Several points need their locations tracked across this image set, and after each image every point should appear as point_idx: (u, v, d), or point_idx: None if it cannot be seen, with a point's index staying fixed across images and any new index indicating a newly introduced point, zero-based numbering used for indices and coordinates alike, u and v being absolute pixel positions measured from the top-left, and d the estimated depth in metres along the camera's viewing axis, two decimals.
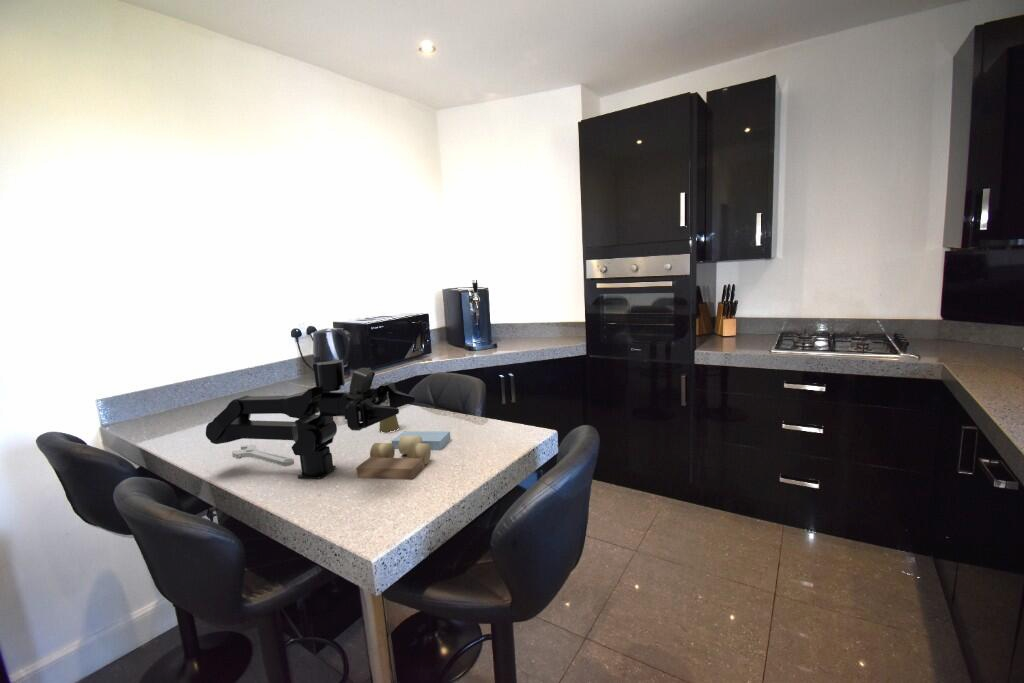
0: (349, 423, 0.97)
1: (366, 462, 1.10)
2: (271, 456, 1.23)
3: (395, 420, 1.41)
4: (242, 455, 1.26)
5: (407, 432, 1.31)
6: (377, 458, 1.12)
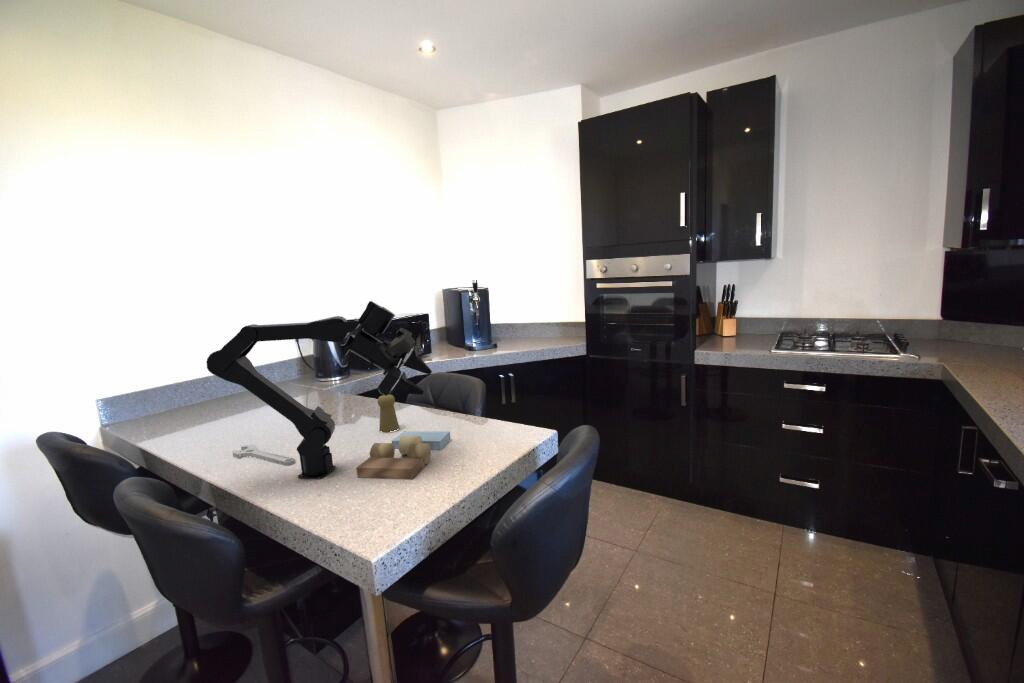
0: (381, 388, 1.05)
1: (366, 462, 1.10)
2: (272, 456, 1.23)
3: (395, 420, 1.41)
4: (243, 455, 1.26)
5: (407, 432, 1.31)
6: (377, 458, 1.12)
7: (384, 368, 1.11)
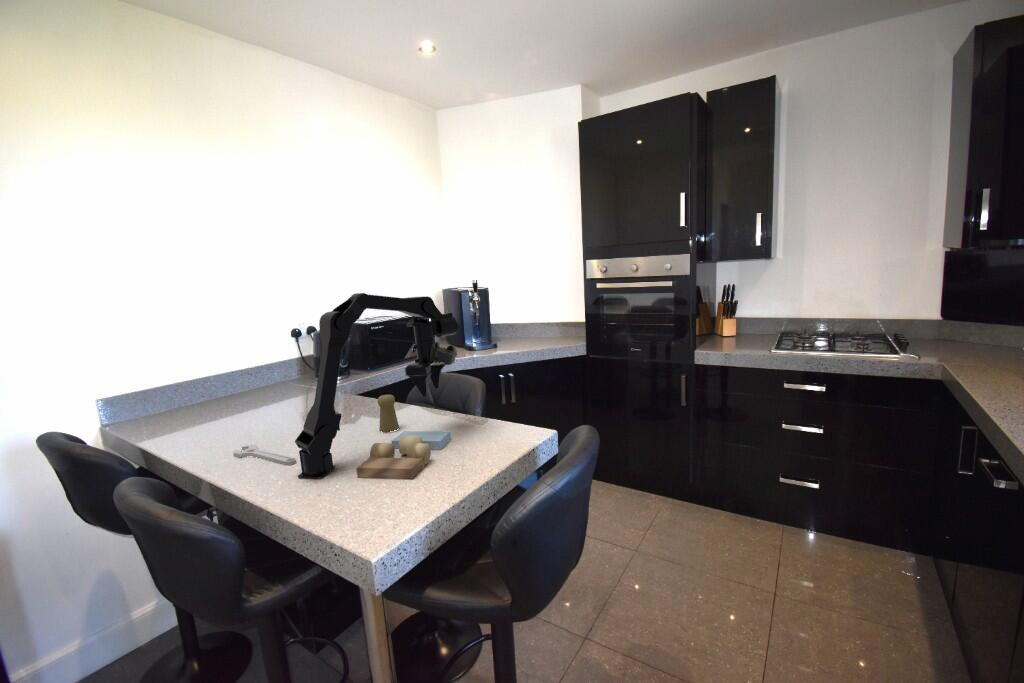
0: (409, 368, 1.24)
1: (366, 462, 1.10)
2: (273, 456, 1.23)
3: (395, 420, 1.41)
4: (244, 455, 1.26)
5: (407, 432, 1.31)
6: (377, 458, 1.12)
7: (420, 357, 1.30)
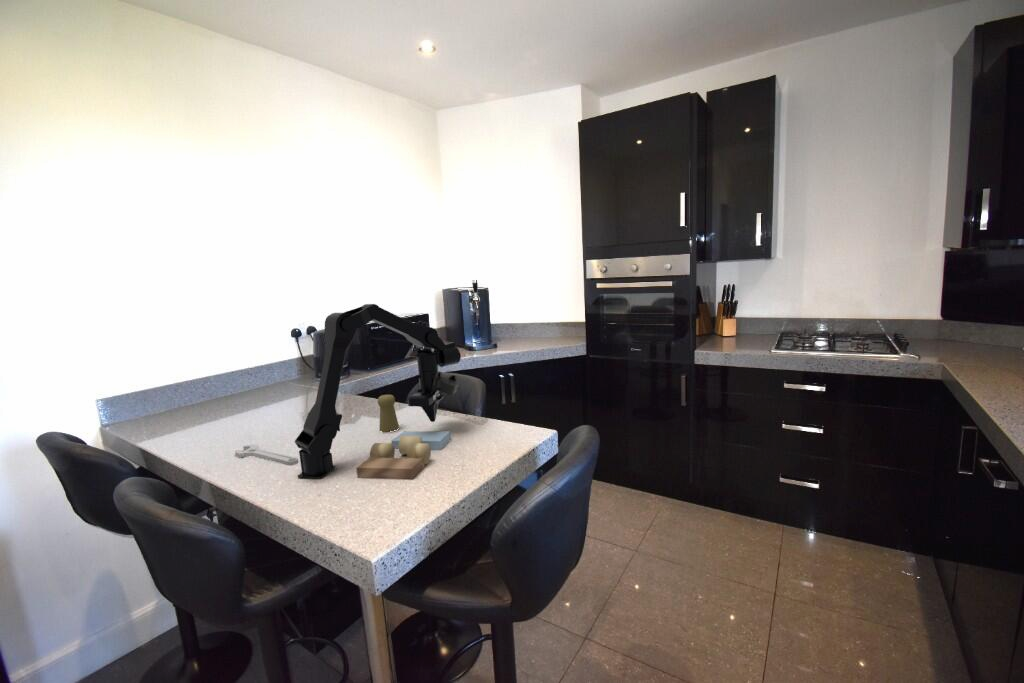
0: (412, 399, 1.25)
1: (366, 462, 1.10)
2: (275, 455, 1.23)
3: (395, 420, 1.41)
4: (245, 455, 1.27)
5: (407, 432, 1.31)
6: (377, 458, 1.12)
7: (422, 387, 1.32)
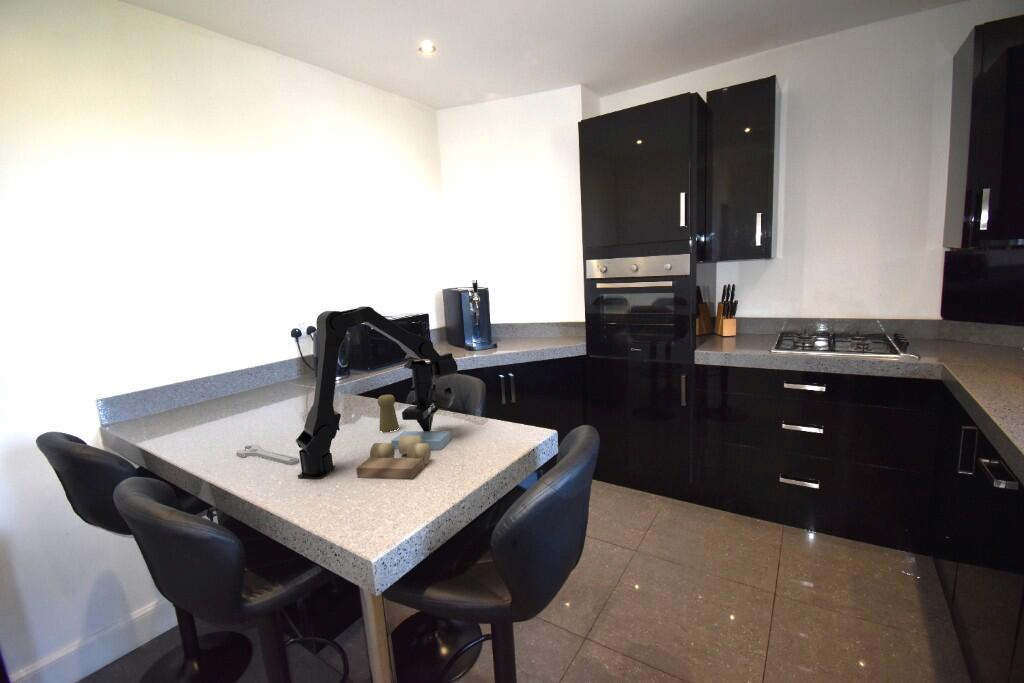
0: (406, 413, 1.22)
1: (366, 462, 1.10)
2: (276, 455, 1.23)
3: (395, 420, 1.41)
4: (247, 455, 1.27)
5: (407, 432, 1.31)
6: (377, 458, 1.12)
7: (417, 400, 1.28)
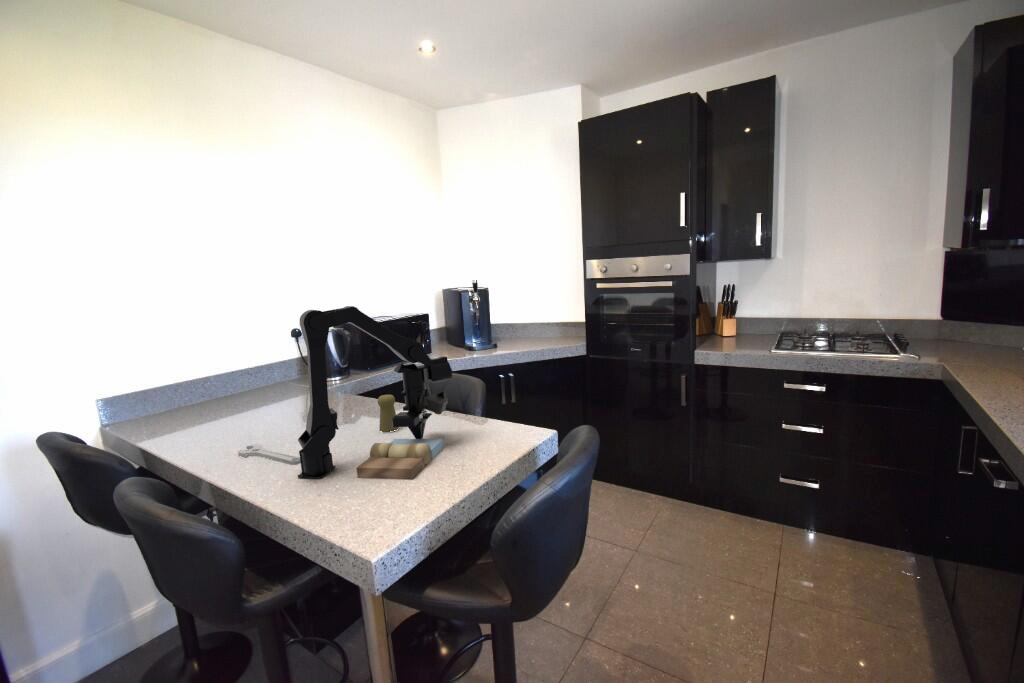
0: (396, 419, 1.16)
1: (366, 462, 1.10)
2: (278, 455, 1.24)
3: None
4: (248, 454, 1.27)
5: (398, 440, 1.25)
6: (377, 458, 1.12)
7: (408, 406, 1.22)
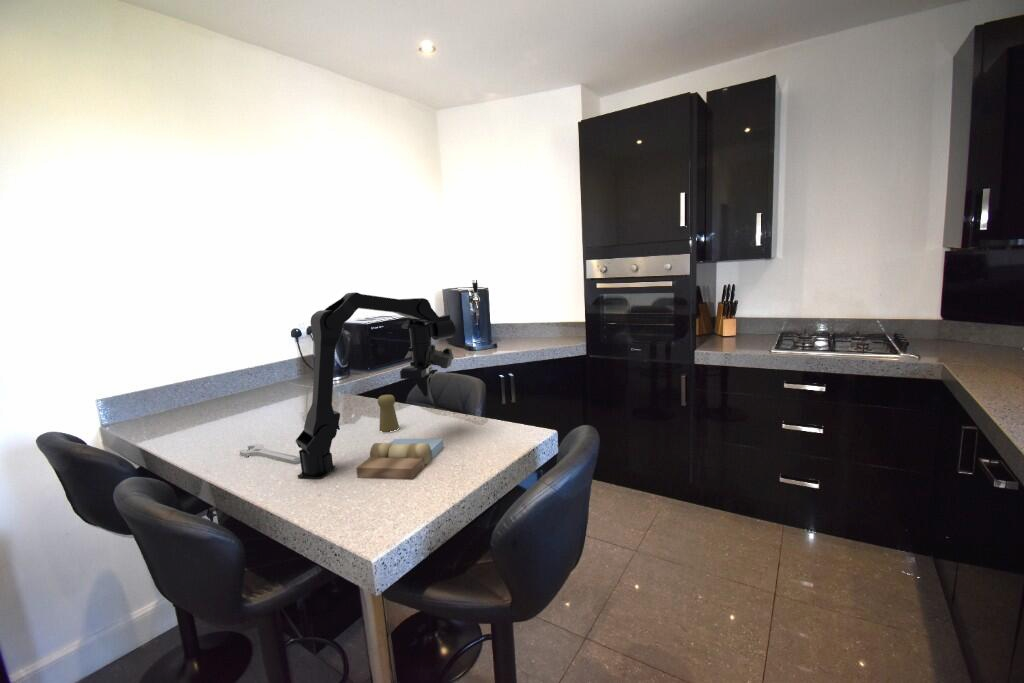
0: (404, 372, 1.21)
1: (366, 462, 1.10)
2: (280, 455, 1.24)
3: (395, 420, 1.41)
4: (250, 454, 1.27)
5: (398, 440, 1.25)
6: (377, 458, 1.12)
7: (415, 360, 1.27)
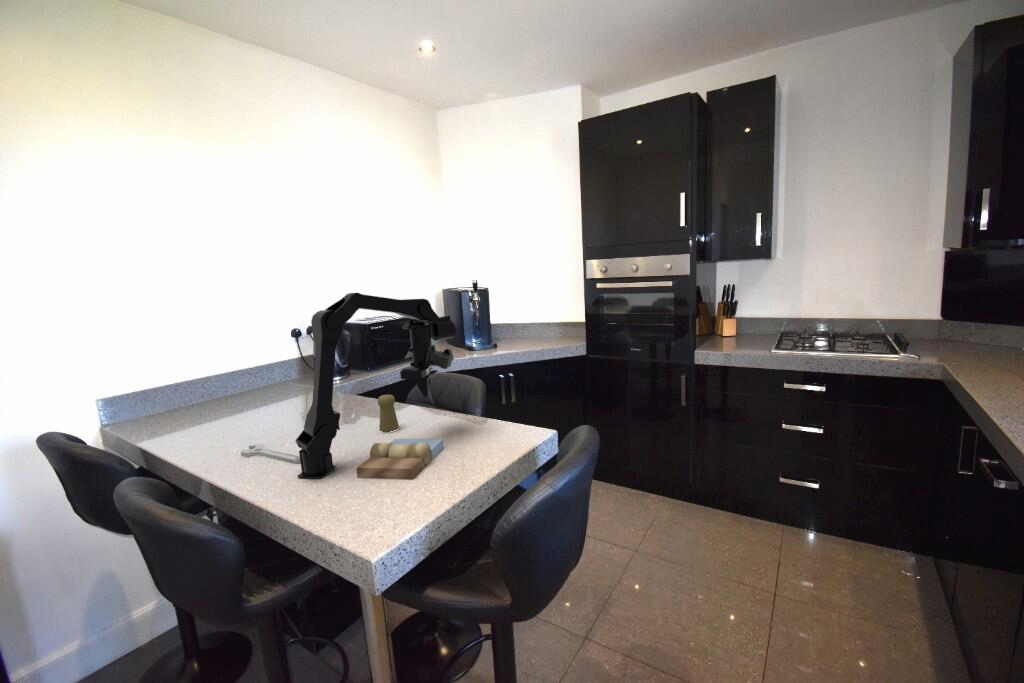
0: (405, 372, 1.21)
1: (366, 462, 1.10)
2: (281, 455, 1.24)
3: (395, 420, 1.41)
4: (251, 454, 1.27)
5: (398, 440, 1.25)
6: (377, 458, 1.12)
7: (415, 361, 1.27)
